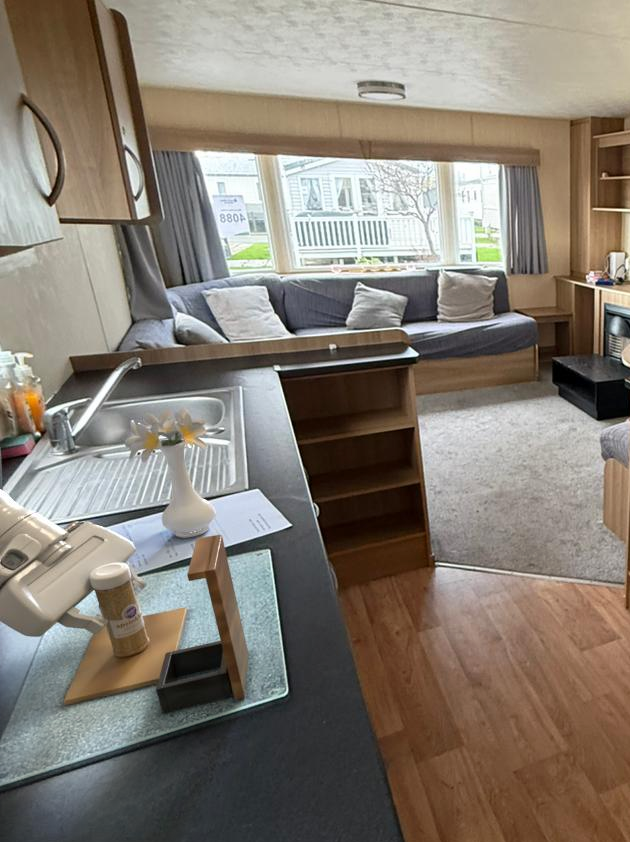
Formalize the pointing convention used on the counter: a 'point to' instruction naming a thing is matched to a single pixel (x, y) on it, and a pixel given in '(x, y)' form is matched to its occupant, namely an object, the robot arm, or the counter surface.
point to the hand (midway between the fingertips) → (123, 608)
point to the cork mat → (126, 660)
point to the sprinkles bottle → (119, 608)
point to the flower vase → (175, 468)
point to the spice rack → (210, 656)
